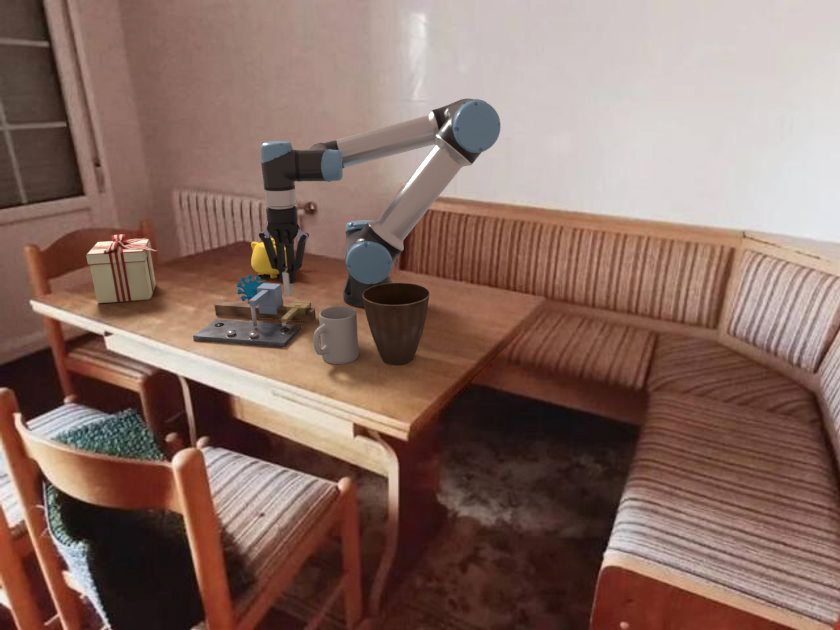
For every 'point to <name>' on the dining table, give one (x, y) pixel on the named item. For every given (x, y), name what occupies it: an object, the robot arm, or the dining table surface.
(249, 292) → the gear
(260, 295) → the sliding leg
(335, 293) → the dining table surface
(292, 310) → the fixed leg
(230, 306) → the beam
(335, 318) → the mug
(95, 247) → the gift box
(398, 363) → the plant pot
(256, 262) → the teapot
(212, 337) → the hole plate
